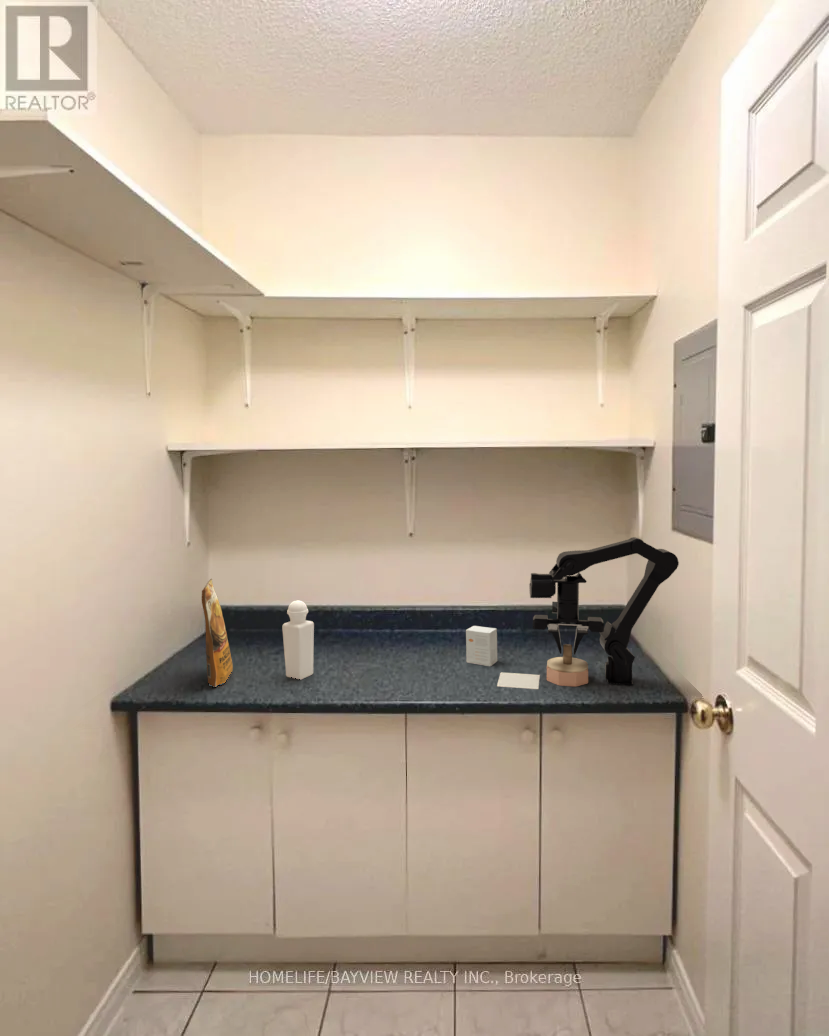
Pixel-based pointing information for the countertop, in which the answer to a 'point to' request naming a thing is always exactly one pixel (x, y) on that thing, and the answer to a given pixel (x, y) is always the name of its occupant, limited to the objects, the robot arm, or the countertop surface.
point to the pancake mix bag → (215, 638)
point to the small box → (481, 645)
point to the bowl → (567, 678)
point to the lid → (567, 662)
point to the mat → (518, 680)
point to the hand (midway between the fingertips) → (567, 653)
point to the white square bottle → (298, 642)
